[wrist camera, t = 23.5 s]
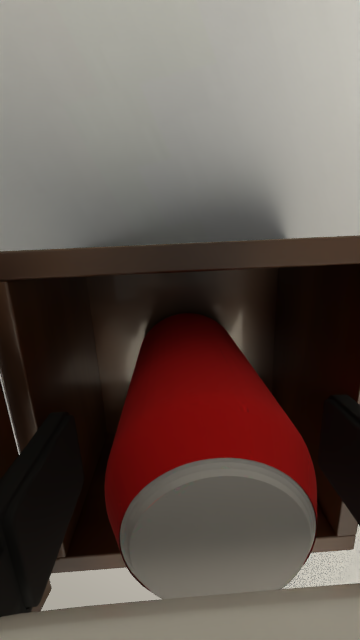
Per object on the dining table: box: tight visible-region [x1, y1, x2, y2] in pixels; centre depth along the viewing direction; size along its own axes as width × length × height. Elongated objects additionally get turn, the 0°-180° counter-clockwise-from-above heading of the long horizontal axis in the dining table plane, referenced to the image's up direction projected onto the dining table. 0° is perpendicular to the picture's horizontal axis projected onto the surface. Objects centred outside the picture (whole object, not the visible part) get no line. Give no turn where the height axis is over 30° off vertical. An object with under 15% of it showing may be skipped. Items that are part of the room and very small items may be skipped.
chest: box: [0, 235, 360, 573], centre depth 14 cm, size 14×14×9 cm
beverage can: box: [105, 313, 317, 599], centre depth 12 cm, size 6×6×12 cm
